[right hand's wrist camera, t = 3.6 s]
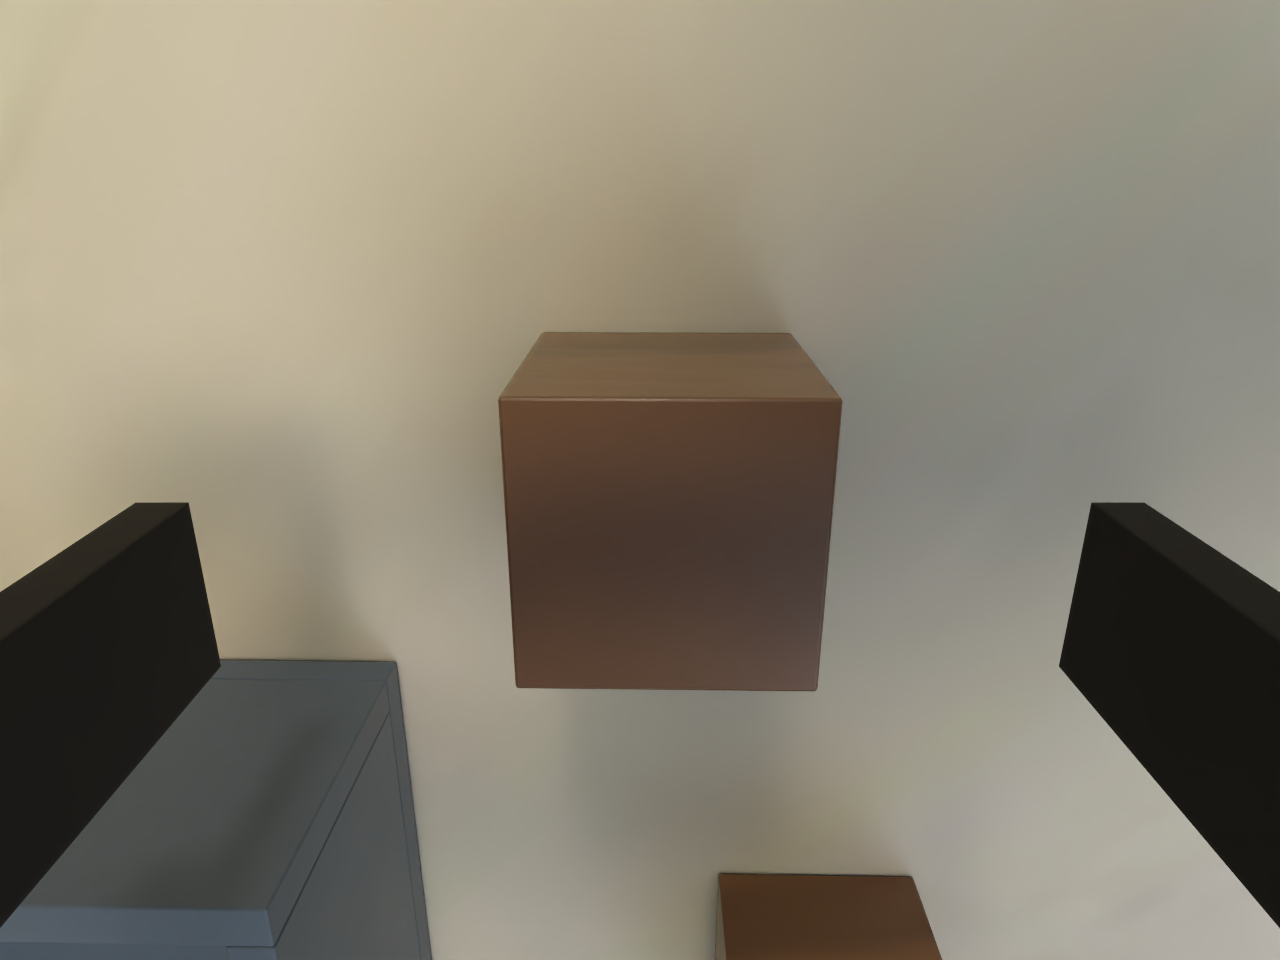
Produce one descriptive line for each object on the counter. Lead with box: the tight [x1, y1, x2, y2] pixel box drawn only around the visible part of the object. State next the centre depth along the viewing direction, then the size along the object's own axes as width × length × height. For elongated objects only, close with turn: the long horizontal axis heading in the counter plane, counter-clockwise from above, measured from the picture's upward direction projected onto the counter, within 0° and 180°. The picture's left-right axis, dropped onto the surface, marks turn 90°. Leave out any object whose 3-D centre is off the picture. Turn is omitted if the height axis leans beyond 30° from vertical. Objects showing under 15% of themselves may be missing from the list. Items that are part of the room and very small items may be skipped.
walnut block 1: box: [498, 332, 842, 691], centre depth 15 cm, size 5×5×5 cm
